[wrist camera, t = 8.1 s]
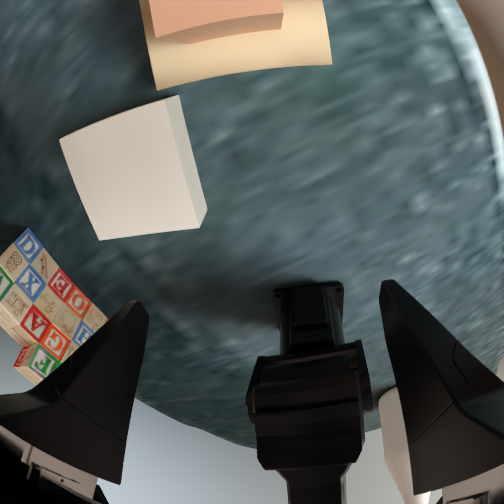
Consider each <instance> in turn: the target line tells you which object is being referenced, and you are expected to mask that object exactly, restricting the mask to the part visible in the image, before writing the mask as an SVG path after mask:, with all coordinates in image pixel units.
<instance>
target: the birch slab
mask: <svg viewBox="0 0 504 504" xmlns="http://www.w3.org/2000/svg"><path fill="white" fill-rule="evenodd" d="M139 2H140V8H141V14H142V20H143V25H144V30H145V36H146V41H147V46H148V51H149V56H150V61H151V65H152V70H153V75H154V79H155V84H156V88H157V91H158V90H162V89H166V88H170V87H174V86H177V85H181V84H185V83H189V82H194V81H198V80H203V79H207V78H212V77H217V76H222V75H228V74H234V73H240V72H247V71H254V70H261V69H270V68H280V67H292V66H308V65H331V64H332V58H331V50H330V43H329V36H328V30H327V24H326V18H325V12H324V7H323V2H322V0H282V5H283V10H284V15H283V21H282V27H281V29H280V30H269V31H260V32H252V33H245V34H239V35H232V36H227V37H221V38H216V39H211V40H207V41H202V42H198V43H194V44H186V43H181V42H176V41H171V40H165V39H159V38H155V32H154V27H153V21H152V16H151V10H150V4H149V0H139Z"/></svg>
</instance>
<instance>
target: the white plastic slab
mask: <svg viewBox="0 0 504 504" xmlns="http://www.w3.org/2000/svg"><path fill="white" fill-rule="evenodd" d="M59 141H60V144H61V147H62V150H63V153H64V156H65V159H66V162H67V165H68V167H69V170H70V173H71V175H72V178H73V181H74V183H75V186H76V188H77V191H78V193H79V196H80V198H81V201H82V203H83V205H84V208H85V210H86V212H87V214H88V217H89V219H90V221H91V223H92V226H93V228H94V230H95V232H96V234H97V236H98V238H99V240H107V239H114V238H121V237H129V236H136V235H144V234H152V233H160V232H168V231H176V230H185V229H193V228H200V225H201V223H202V221H203V218H204V216H205V214H206V212H207V206H206V203H205V199H204V195H203V191H202V188H201V184H200V180H199V176H198V172H197V168H196V164H195V161H194V157H193V153H192V149H191V145H190V141H189V136H188V132H187V128H186V124H185V120H184V116H183V111H182V107H181V103H180V99H179V95H176V96H172V97H169V98H165V99H161V100H158V101H155V102H151V103H148V104H145V105H142V106H139V107H136V108H133V109H130V110H127V111H124V112H121V113H119V114H116V115H113V116H110V117H108V118H105V119H103V120H100V121H98V122H95V123H93V124H90V125H88V126H86V127H83V128H81V129H79V130H77V131H75V132H73V133H71V134H69V135H67V136H65V137H63V138H61V139H59Z"/></svg>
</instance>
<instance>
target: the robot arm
mask: <svg viewBox="0 0 504 504" xmlns="http://www.w3.org/2000/svg"><path fill="white" fill-rule="evenodd" d="M337 288H338V289H337ZM277 294H279V295H277ZM343 299H344V287H343V284H342V283H330V284H321V285H312V286H302V287H292V288H281V289H275V290H274V291H273V300H274V305H275V310H276V315H277V320H278V325H279V330H280V355H274V356H266V357H265V356H258V358H257V361H256V364H255V367H254V370H253V374H252V377H251V381H250V384H249V387H248V391H247V394H246V402H245V408H246V409H247V410H248V415H249V418H250V421H251V423H252V424H253V426H255V431H256V438H257V458H258V460H259V462H260V464H261V465H262V467H263V468H264V469H265V470H276V471H277V472H278V473H279V474H280V475H281V476H282V477H283V478H284V479H285V480H286V482H287V490H288V503H289V504H346V472H347V471H348V469H349V467H350V466H351V464H352V463H355V462H356V461H357V459H358V457H359V455H360V453H361V451H362V446H363V444H364V442H365V434H364V419H363V414H368V413H372V393H371V385H370V378H369V373H368V368H367V364H366V359H365V355H364V350H363V346H362V342H361V339H360V340H355V342H351V343H346V344H345V342H344V335H343V329H342V318H343ZM379 304H380V310H381V315H382V321H383V327H384V334H385V340H386V344H387V348H388V352H389V356H390V360H391V364H392V368H393V372H394V376H395V381H396V385H397V389H398V394H399V399H400V404H401V409H402V414H403V419H404V425H405V430H406V436H407V443H408V450H409V458H410V466H411V474H412V484H413V494H414V496H415V495H419V494H423V493H427V492H430V491H434V490H437V489H441V488H442V495H443V496H442V497H441V498H440V499H439V501H438V502H437V503H436V504H504V382H503V381H502V380H501V379H500V378H498V377H497V376H496V375H495V374H494V373H493V372H492V371H490V370H489V369H488V368H487V367H486V366H485V365H484V364H482V363H481V362H480V361H479V360H478V359H477V358H476V357H475V356H473V355H472V354H471V353H470V352H469V351H468V350H467V349H466V348H465V347H464V346H463V345H462V344H461V343H460V342H459V341H458V340H456V338H455V337H454V336H453V335H452V334H451V333H450V332H449V331H448V330H447V329H446V328H445V327H444V326H443V325H442V324H441V323H440V322H439V321H438V320H437V319H436V318H435V317H434V316H433V315H432V314H431V313H430V312H429V311H428V310H427V309H426V308H424V307H423V306H422V305H421V304H420V303H419V302H418V301H417V300H416V299H415V298H414V297H413V296H411V295H410V294H409V293H408V292H407V291H406V290H405V289H404V288H403V287H402V286H400V285H399V284H398V283H397V282H396V281H395V280H393V279H390V280H383V281H382V283H381V289H380V295H379ZM148 324H149V315H148V313H147V311H146V310H145V308H144V306H143V305H142V303H141V302H140V301H129V302H128V303H127V304H126V305H125V306H124V307H123V308H121V309H120V310H119V311H118V312H117V313H116V314H115V315H114V316H113V317H111V318H110V319H109V320H108V321H107V322H106V323H105V324H104V325H103V326H101V327H100V328H99V329H98V330H97V331H96V332H95V333H94V334H93V335H92V336H91V337H90V338H88V339H87V340H86V341H85V342H84V343H83V344H82V345H81V346H80V347H79V348H78V349H77V350H76V351H75V352H73V353H72V355H70V356H69V357H68V358H67V359H66V360H65V361H64V362H63V363H62V364H61V365H60V366H59V367H57V368H56V369H55V370H54V371H53V372H52V373H50V374H49V375H48V376H47V377H46V378H44V379H43V380H42V381H41V382H40V383H38V384H37V385H36V386H35V387H34V388H33V389H31V390H29V391H27V392H24V393H15V394H4V395H0V504H109V503H108V501H107V499H106V497H105V496H104V494H103V492H102V490H101V488H100V486H99V485H97V484H96V483H97V479H98V477H99V478H101V479H104V480H107V481H109V482H112V483H115V484H118V485H120V484H121V478H122V470H123V462H124V455H125V449H126V441H127V435H128V429H129V424H130V418H131V413H132V407H133V402H134V397H135V392H136V388H137V383H138V378H139V374H140V369H141V365H142V361H143V356H144V351H145V344H146V337H147V330H148Z"/></svg>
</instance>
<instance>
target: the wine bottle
mask: <svg viewBox="0 0 504 504" xmlns="http://www.w3.org/2000/svg"><path fill="white" fill-rule="evenodd" d="M379 412H380V420H381V428H382V436H383V446H384V456H385V462H386V464H387V466H388V469H389V471H390V473H391V475H392V477H393V479H394V480H395V483H396V485H397V487H398V489H399V491H400V493H401V495H402V498H403V500H404V502H405V504H428V501H429V495H430V492H427V493H423V494H419V495H415V496H414V494H413V484H412V474H411V466H410V458H409V450H408V443H407V436H406V430H405V425H404V419H403V414H402V409H401V404H400V399H399V394H398V389H397V387H395V388H393V389H391V390H389V391H387V392H386V393H384V394H383V395H382V396H381V398H380V400H379Z"/></svg>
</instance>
